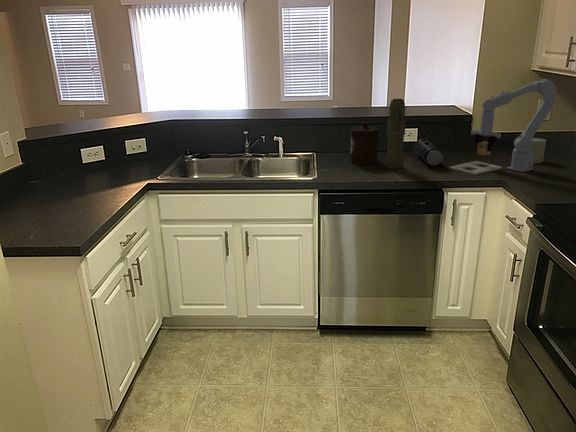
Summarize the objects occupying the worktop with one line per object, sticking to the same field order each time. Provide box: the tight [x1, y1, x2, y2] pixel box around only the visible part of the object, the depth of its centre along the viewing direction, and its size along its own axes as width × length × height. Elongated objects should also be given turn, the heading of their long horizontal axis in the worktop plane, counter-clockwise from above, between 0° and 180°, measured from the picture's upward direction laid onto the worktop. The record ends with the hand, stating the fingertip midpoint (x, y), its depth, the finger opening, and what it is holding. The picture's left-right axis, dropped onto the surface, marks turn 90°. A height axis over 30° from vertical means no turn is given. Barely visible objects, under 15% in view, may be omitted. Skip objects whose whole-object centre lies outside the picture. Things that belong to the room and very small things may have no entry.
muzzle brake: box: [413, 138, 444, 167], centre depth 257 cm, size 10×28×10 cm, turn 178°
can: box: [529, 137, 547, 164], centre depth 250 cm, size 9×9×12 cm
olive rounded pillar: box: [385, 98, 406, 171], centre depth 243 cm, size 9×12×35 cm
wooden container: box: [350, 121, 379, 165], centre depth 260 cm, size 15×15×22 cm
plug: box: [476, 140, 492, 157], centre depth 241 cm, size 4×5×6 cm
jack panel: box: [449, 160, 503, 176], centre depth 242 cm, size 16×20×1 cm
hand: (484, 150), depth 241 cm, fingers closed on plug, 5 cm apart
